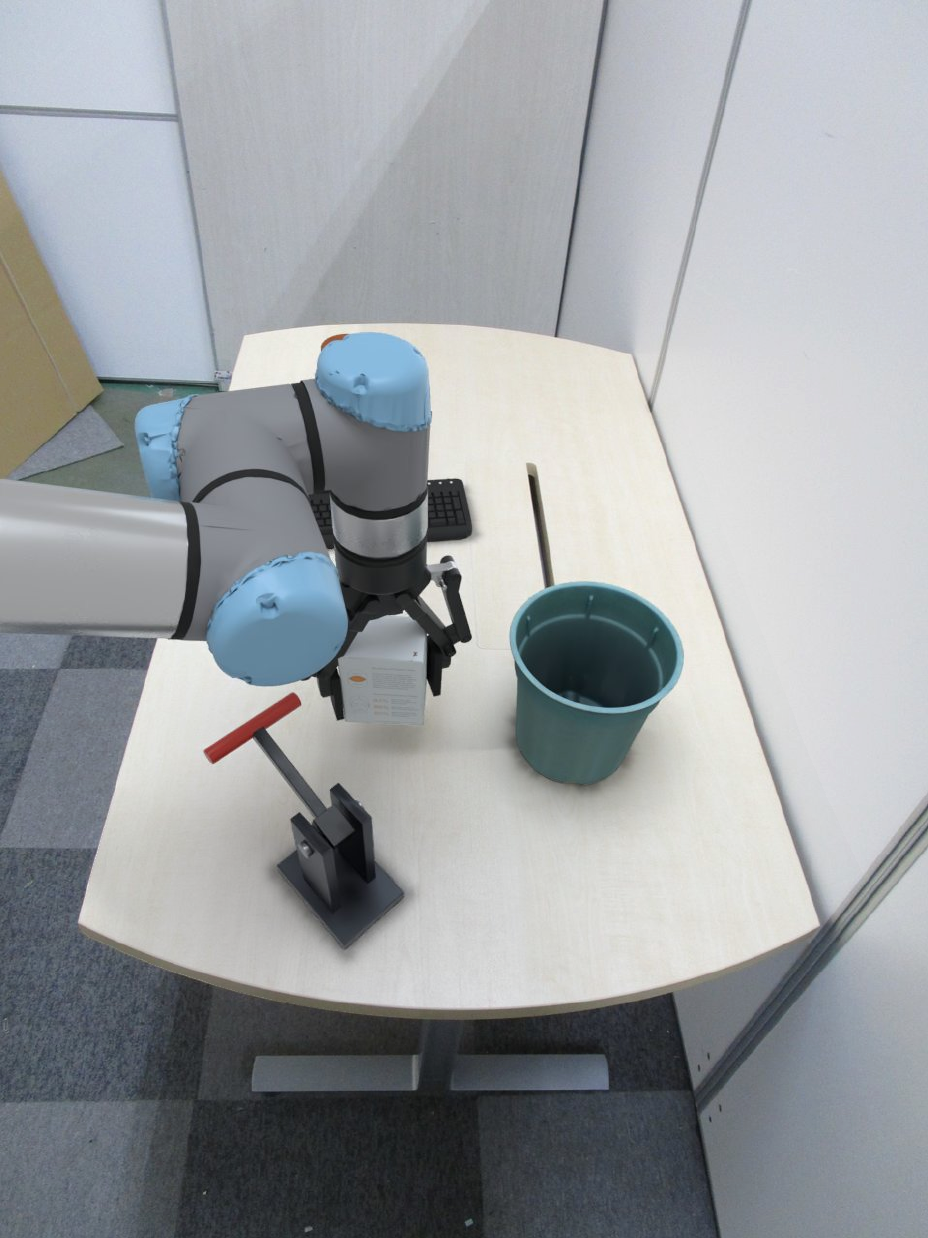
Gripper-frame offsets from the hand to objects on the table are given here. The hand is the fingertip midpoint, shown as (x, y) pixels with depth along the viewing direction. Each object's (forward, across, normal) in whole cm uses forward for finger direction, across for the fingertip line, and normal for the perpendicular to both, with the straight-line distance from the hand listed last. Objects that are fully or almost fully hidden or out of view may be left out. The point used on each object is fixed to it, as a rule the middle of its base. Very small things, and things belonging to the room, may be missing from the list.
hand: (386, 697), depth 79 cm
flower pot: (+7, -19, +6) cm, 21 cm away
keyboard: (+7, -6, -35) cm, 36 cm away
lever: (-4, +11, +10) cm, 15 cm away
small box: (+1, 0, 0) cm, 1 cm away
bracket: (+7, +8, +14) cm, 18 cm away
